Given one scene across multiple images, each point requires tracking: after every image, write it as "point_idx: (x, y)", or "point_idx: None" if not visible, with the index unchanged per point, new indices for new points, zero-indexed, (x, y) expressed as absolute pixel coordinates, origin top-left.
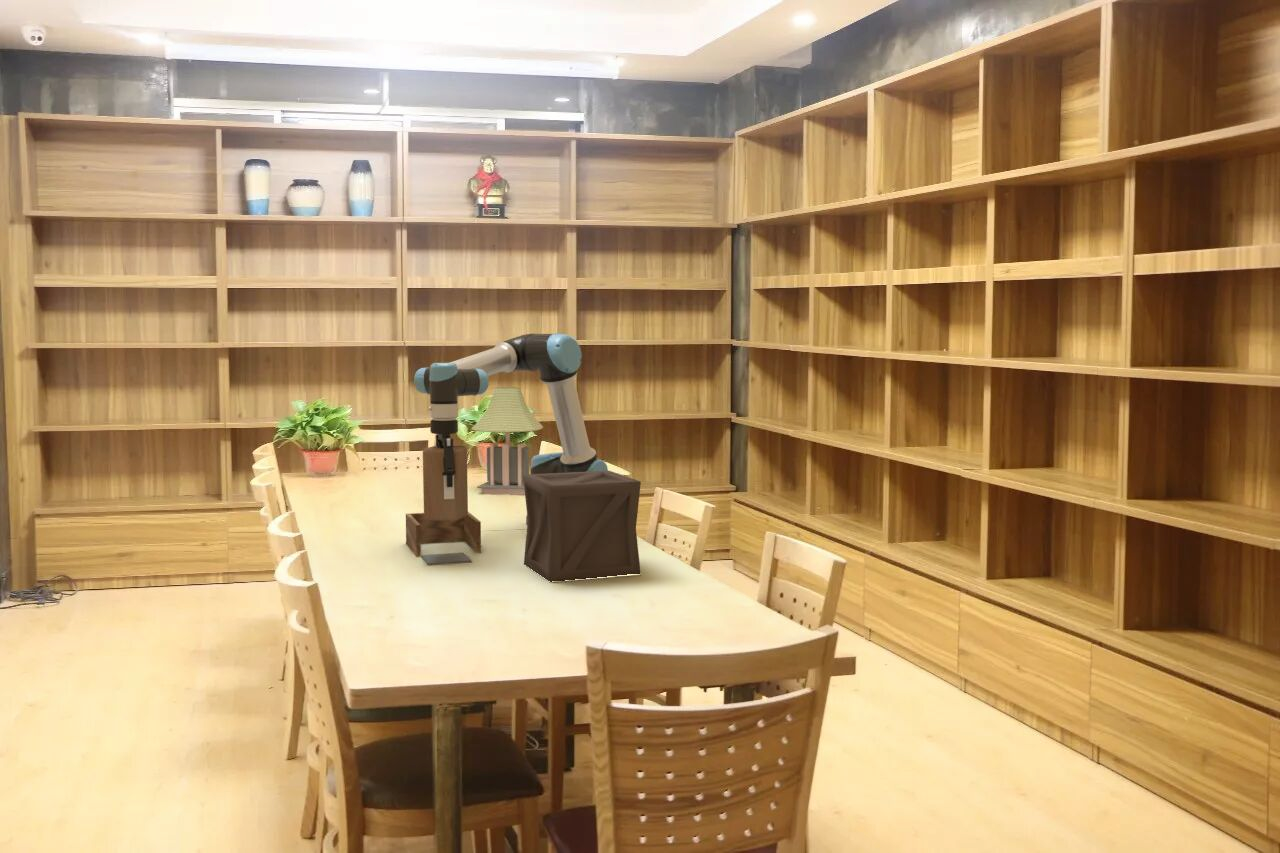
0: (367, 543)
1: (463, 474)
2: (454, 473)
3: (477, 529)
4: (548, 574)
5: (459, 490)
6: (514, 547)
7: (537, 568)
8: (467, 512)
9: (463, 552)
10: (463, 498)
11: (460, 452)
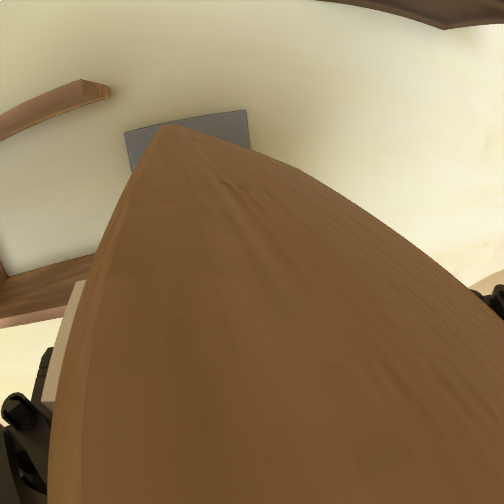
0: (24, 346)
1: (332, 216)
2: (495, 288)
3: (91, 92)
4: (446, 27)
5: (350, 204)
6: (54, 11)
7: (399, 12)
8: (181, 126)
9: (125, 133)
10: (258, 159)
11: None
